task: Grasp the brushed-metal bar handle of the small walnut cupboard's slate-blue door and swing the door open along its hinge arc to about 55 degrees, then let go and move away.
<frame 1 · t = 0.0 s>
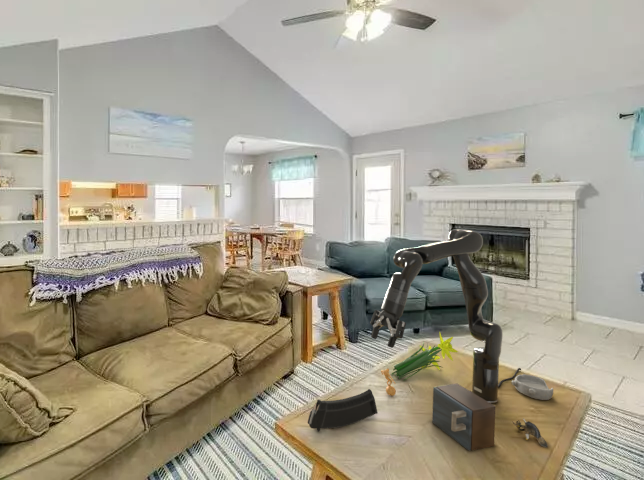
hand: (381, 342, 140), 31 cm above the table, tool tilted 20°, fingers open, 8 cm apart
eagle figurine: (530, 439, 134), on the table
cupboard: (463, 433, 137), on the table
dish: (532, 393, 165), on the table
figurine: (388, 396, 161), on the table
cupboard door: (445, 418, 134), point 7 cm above the table, hinge at 0.0°
magazine: (343, 424, 141), on the table
daffodil flowers: (422, 374, 181), on the table
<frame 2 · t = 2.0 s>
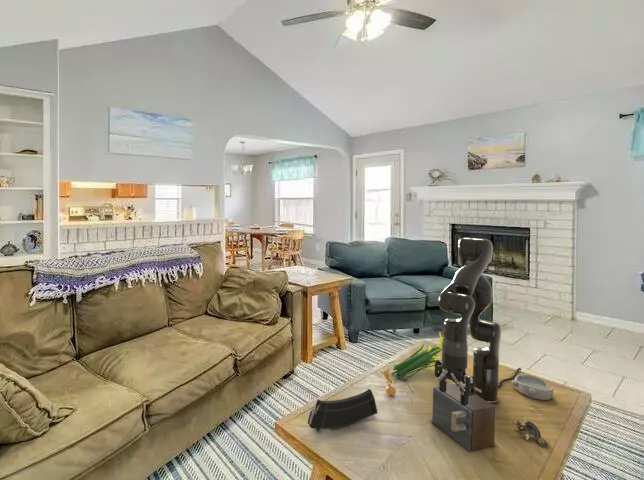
hand: (453, 398, 127), 18 cm above the table, tool pointing down, fingers open, 8 cm apart
nothing on the table moved.
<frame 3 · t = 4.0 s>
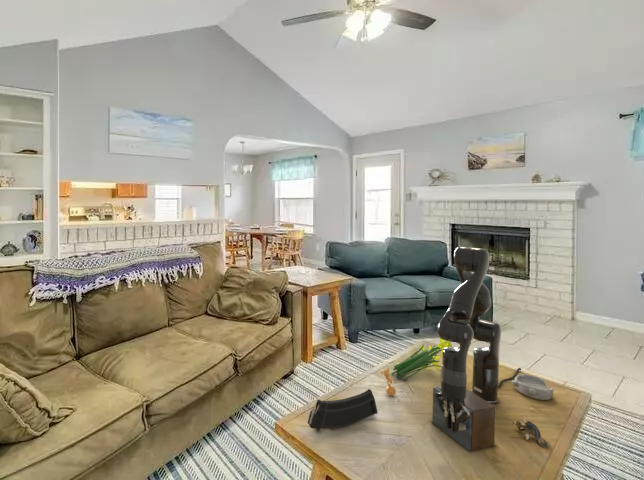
hand: (451, 429, 127), 7 cm above the table, tool pointing down, fingers closed
cupboard door: (445, 418, 134), point 7 cm above the table, hinge at 0.0°, touching gripper
everything else where it was.
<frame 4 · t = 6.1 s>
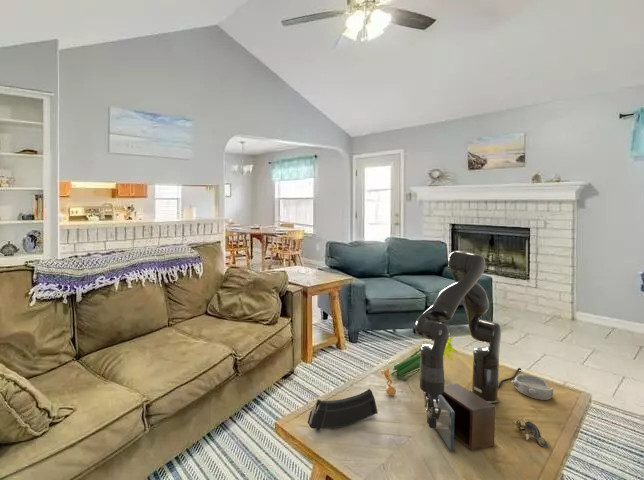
hand: (431, 425, 130), 7 cm above the table, tool pointing down, fingers closed
cupboard door: (434, 416, 135), point 7 cm above the table, hinge at 23.1°, touching gripper
everything else where it was.
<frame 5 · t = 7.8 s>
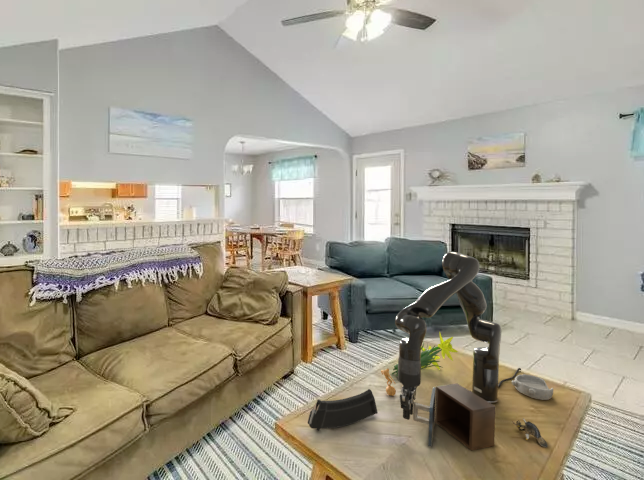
hand: (407, 415, 135), 7 cm above the table, tool pointing down, fingers open, 3 cm apart
cupboard door: (424, 412, 137), point 7 cm above the table, hinge at 47.2°
everything else where it was.
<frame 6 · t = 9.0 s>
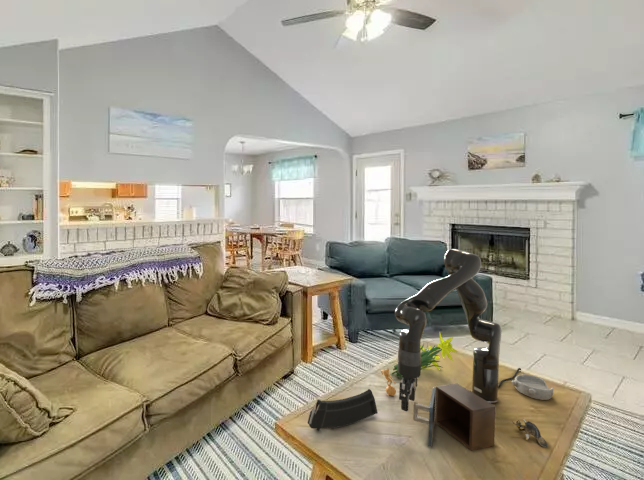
hand: (408, 404, 135), 11 cm above the table, tool pointing down, fingers open, 8 cm apart
nothing on the table moved.
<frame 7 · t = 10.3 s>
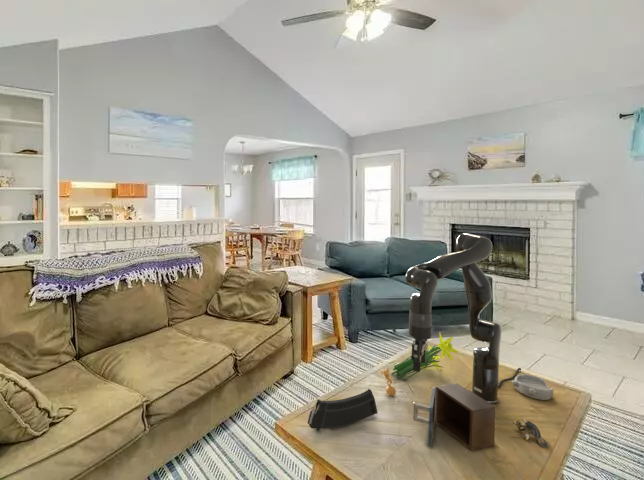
hand: (419, 366, 137), 24 cm above the table, tool pointing down, fingers open, 8 cm apart
nothing on the table moved.
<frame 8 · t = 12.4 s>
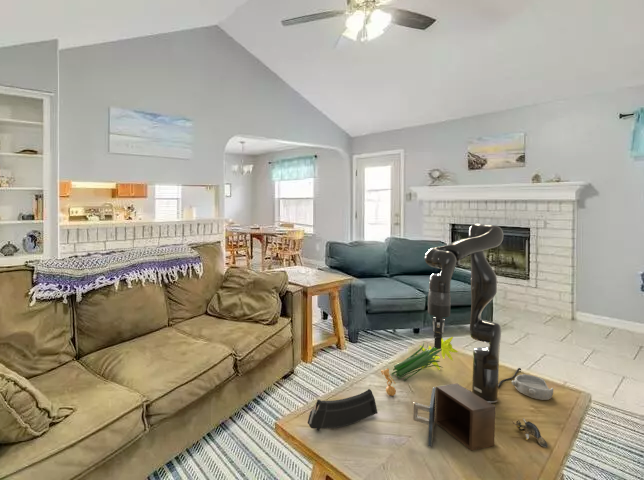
hand: (437, 344, 143), 30 cm above the table, tool pointing down, fingers open, 8 cm apart
nothing on the table moved.
at the end: cupboard door at +47° (first picture: +0°); the gripper is holding nothing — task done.
